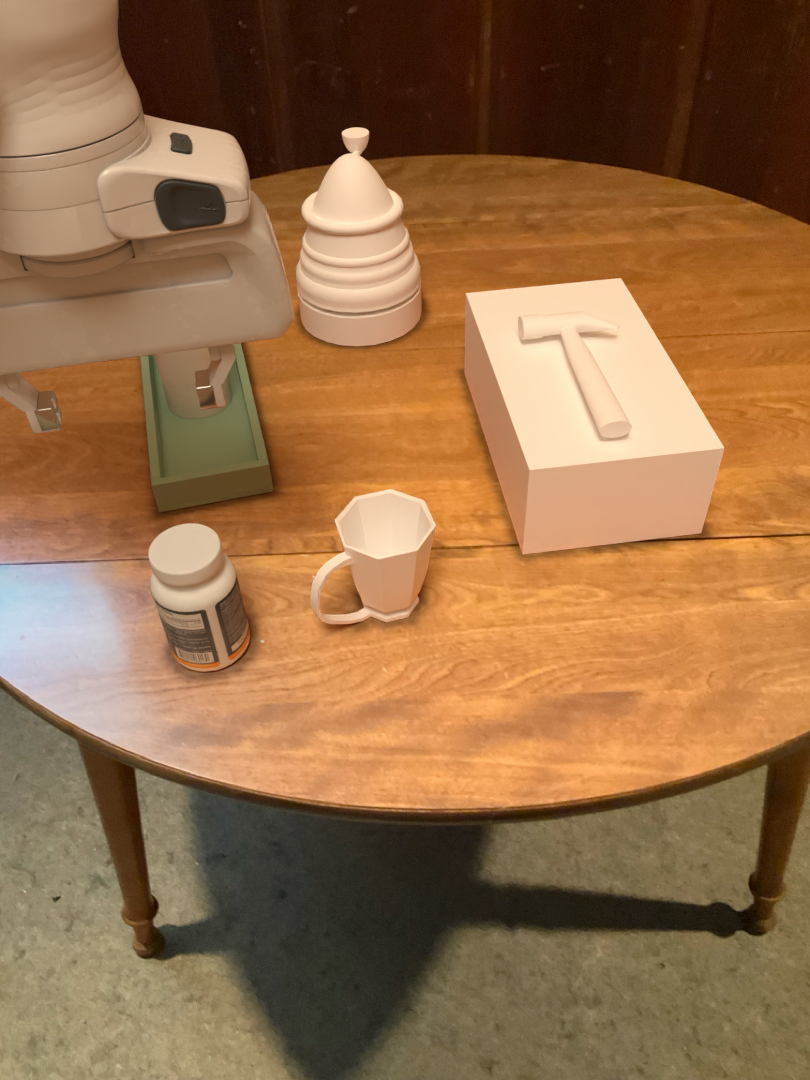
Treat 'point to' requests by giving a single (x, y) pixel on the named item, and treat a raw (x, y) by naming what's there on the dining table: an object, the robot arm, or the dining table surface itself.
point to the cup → (380, 555)
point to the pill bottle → (198, 597)
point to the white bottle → (187, 382)
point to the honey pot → (357, 256)
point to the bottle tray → (204, 445)
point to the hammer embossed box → (586, 417)
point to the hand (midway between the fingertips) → (132, 414)
